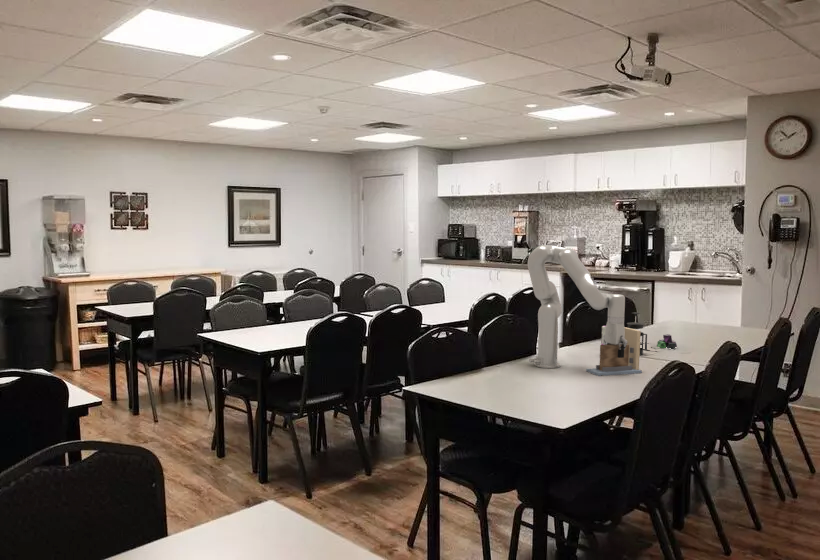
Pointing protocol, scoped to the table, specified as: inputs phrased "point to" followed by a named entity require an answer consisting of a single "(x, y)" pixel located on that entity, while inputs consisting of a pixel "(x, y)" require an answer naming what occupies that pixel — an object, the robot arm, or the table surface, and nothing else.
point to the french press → (640, 326)
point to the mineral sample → (667, 342)
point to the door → (612, 356)
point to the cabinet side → (634, 354)
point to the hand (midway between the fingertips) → (614, 355)
